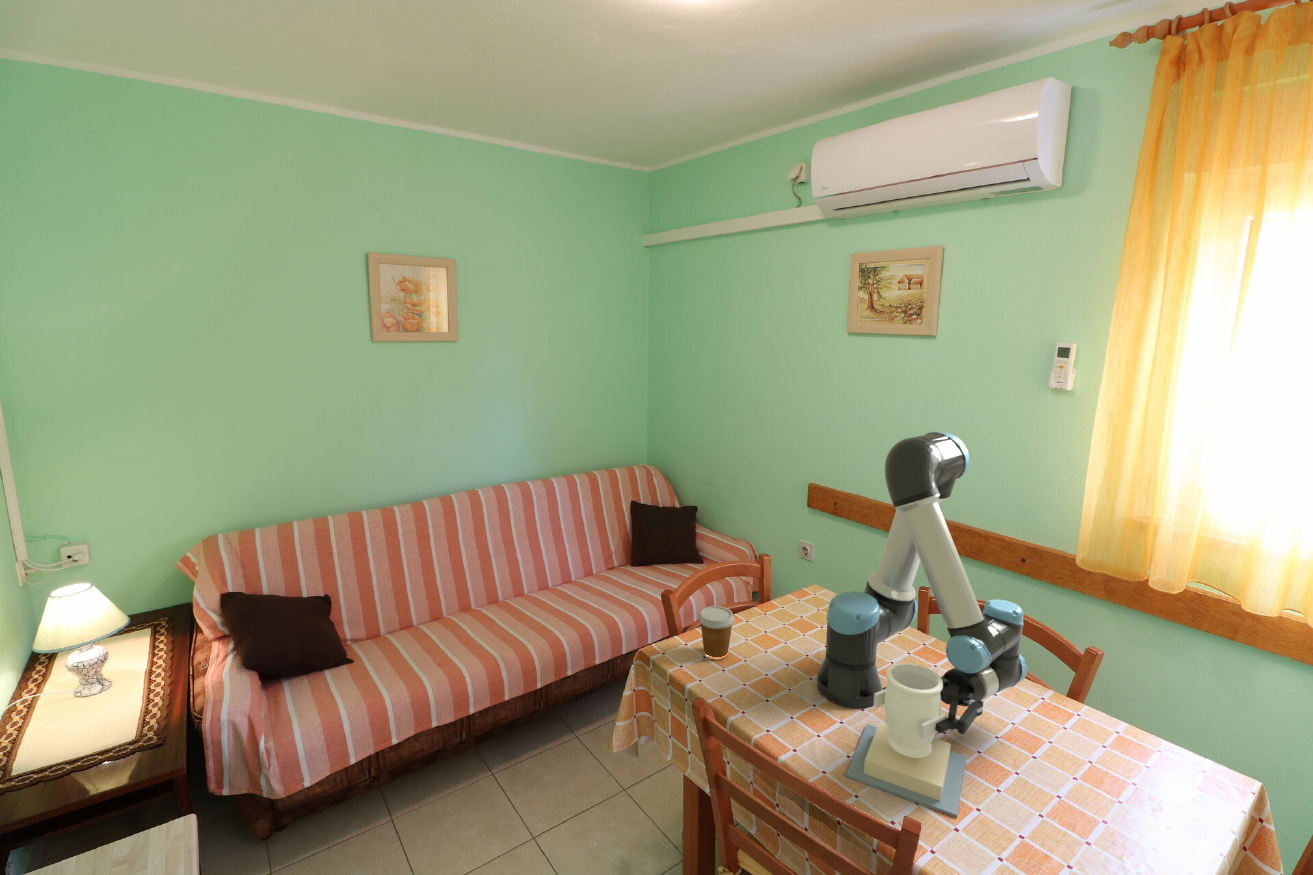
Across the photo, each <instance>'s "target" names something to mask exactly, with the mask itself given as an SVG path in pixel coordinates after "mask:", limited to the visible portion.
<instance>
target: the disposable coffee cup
mask: <svg viewBox="0 0 1313 875" xmlns="http://www.w3.org/2000/svg"><path fill="white" fill-rule="evenodd" d="M698 620H699V622H700V629H701V637H702V646H703V647H702V648H703V653H704V652H705V654H707V655H709V656H712V657H722V656H725V655H726V654H727V653H728V654H729V649H730V641H731V634H732V628H733V624H734V622H735V617H734V614H733V612H732V610H731V609H730V608H729V609H728V608H727V607H724V606H718V605H717V606H707V607H705V608H703V609H701V611H700V613H699V616H698Z"/></svg>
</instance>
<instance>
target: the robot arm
mask: <svg viewBox="0 0 1313 875" xmlns="http://www.w3.org/2000/svg"><path fill="white" fill-rule="evenodd" d="M884 462H885V463H884V477H885V484H886V487H887V491H888V495H889V497H890V500H891V503H892V505H893V509H895V510H896V511H895V513H894V517H893V520H892V522H891V525H890V528H889V533H888V537H887V540H886V542H885V546H884V549H883V550H882V551H883V553H882V555H881V558H880V561H879V565H878V568H877V571H876V572H874V573H871V574H870V575H869V576H868V578H867V580H866V585H865V587H864V590H863V591H851V592H848V591H843V592H840V593H839V594H836V595H835V596H834V597H832V598H831V599H830V601H829V604H828V609H827V612H826V620H827V623H826V624H827V625H826V641H825V657H824V659H823V662H822V664H821V666H820V668H819V670H818V672H817V676H816V689H817V691H818V692H819V691H820V692H819V693H820V695H821V696H822V697H824V698H825V697H826V698H827V699H826V698H825V699H826V700H828V699H829V700H828V701H830V702H831V701H833V702H834V704H836V705H838V706H842V707H845V708H846V707H847V708H853V709H864V708H869V707H872V706H874V707H875V708H878V707H881V706H883V705H885V692H886V687H887V685H886V686H884V687H882V683H881V678H880V675H879V672H878V668H877V665H876V662H877V660H876V659H877V650H878V649H877V647H878V644H879V643H882V642H884V641H885V640H887V639H889V638H891V637H892V636H894V635H895V634H898V633H899V632H902V631H904V630H906V629H907V628H908V626H910V625H911V624H912V623H913V622H914V620H915V619H916V617H917V615H918V602H917V600H916V596H917V590H916V589H915V587H914V586H913V584H914V580H915V578H916V575H917V572H918V569H919V566H920V565H921V566H922V569H923V572H924V574H925V577H926V579H927V581H928V584H929V586H930V588H931V592H932V594H933V596H934V598H935V601H936V604H937V606H938V609H939V612H940V614H941V617H942V619H943V622H944V625H945V628H946V629H947V632H948V635H949V640H948V641H947V642H946V645H945V655H946V658H947V660H948V661H949V663H950V665H952V666H953V668H951V669H949V670H947V671H946V672H945V673H944V674H943V675H942V676H940V677H941V679H942V681H943V689H942V691H941V692H940V695H941V702H943V703H944V704H946V705H949V708H948V709H949V710H948V714H945V713H941V715H938V716H936V717H935V718H932V719H930V720H928V721H926V722H924V723H921V727H920V737H921V738H922V739H924V738H926V737H928V736H930V735H932V734H934V733H936V734H937V733H939V734H944V733H946V732H947V731H949V730H951V731H952V730H957V732H958V734H961V735H965V734H966V733H967V731H968V730H969V728H970V726H971V725H972V723H973V722H974V720H976V718H977V717H980V716H981V715H983V711H984V701H982V700H985V699H987V698H990V697H991V696H994V695H996V694H997V693H998V694H999V692H1002V691H1005V690H1006V689H1010V688H1013V687H1014V686H1016V685H1017V684H1019V683H1020V682H1022V681H1024V679H1025V678H1026V676H1027V674H1028V666H1027V664H1026V660H1025V658H1024V656H1022V654H1020V650H1021V649H1020V648H1021V642H1022V636H1023V627H1024V611H1023V609H1022V608H1021V607H1020V606H1019V605H1018V604H1016V603H1014V602H1012V601H1009V600H1005V599H999V598H998V599H997V598H996V599H990V600H987V601H986V602H985V603H984V607H983V610H981V608H980V605H979V602H978V601H977V597H976V595H975V593H974V590H973V587H972V585H971V583H970V580H969V578H968V575H967V573H966V570H965V567H964V565H963V562H962V560H961V557H960V555H959V553H958V550H957V547H956V545H955V543H954V540H953V538H952V535H951V532H950V530H949V527H948V524H947V521H946V520H945V517H944V514H943V512H942V510H941V508H940V504H941V502H944V501H946V500H948V499H950V497H951V496H952V492H953V489H954V486H955V484H956V481H957V479H960V478H961V477H963V475H964V474H965V473H966V472H967V471H968V468H969V465H970V453H969V451H968V448H967V447H966V445H965V443H964V442H963V441H962V440H961V439H960V437H958V436H956V435H954V434H953V433H951V432H950V433H949V432H946V431H931V432H928V433H925V434H923V435H917V436H913V437H908V438H904V439H902V440H900V441H898V442H897V443H895V444H894V445H893V446H892V447H891V449H890V450H888V453H887V455H886V459H885V461H884ZM833 702H832V703H833ZM958 706H962V707H967V708H966V709H965V711H964V712H962V715H961V716H960V717H959V718H956V717H957V712H958Z"/></svg>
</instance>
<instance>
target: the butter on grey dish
mask: <svg viewBox="0 0 1313 875" xmlns="http://www.w3.org/2000/svg"><path fill="white" fill-rule="evenodd" d="M864 727H865V728H864V730H863V732H862V735H861V737H860V740H859V742H858V745H857V747H856V748H855V751H854V754H853V756H852V758H851V761H850V763H849V766H848V768H847V771H846V774H845V778H848V779H852V780H854V781H857V782H859V783H861V784H865V785H867V786H870V787H872V788H875V789H879V790H881V791H883V792H886V793H889V794H892V795H895V796H896V797H900V798H902V799H906V800H908V801H910V802H913V803H916V804H919V805H921V806H924V807H927V808H930V809H931V810H932V809H933V810H934V811H937V812H941V813H943V814H946V815H949V816H951V817H954V818H958V813H959V806H960V801H961V800H960V799H961V794H962V787H963V783H964V782H963V780H964V776H965V775H964V774H965V769H966V768H965V767H966V761H967V755H964V754H961V753H959V752H956V751H952V750H951V743H950V742H946V741H944V740H940V739H937V738H934V739H933V740H932V742H931V745H932V751H931V753H930V754H929V755H928V756H926V757H923V758H911V757H907V756H904V755H902V754H900V753H898V752H896V751H895V750H894V749H893V748H892V747H891V746H890V745H889V743H888V740H887V737H888V734H889V730H888V727H887V723H886V722H884V721H881V720H880V721H879V723H878V725H877V726H876V725H875V726H874V725H871V724H869V723H866V725H865V726H864Z"/></svg>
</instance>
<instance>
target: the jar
mask: <svg viewBox="0 0 1313 875" xmlns="http://www.w3.org/2000/svg"><path fill="white" fill-rule="evenodd" d="M885 676H886V680H887V684H886V686H887V687H886V686H885V687H886V692H885V704H884V712H885V723H887V727H888V730H889V734H888V737H887V740H888V743H889V745H890V746H891V747H892V748H893V749H894V750H895V751H896V752H898V753H900V754H902V755H904V756H907V757H911V758H923V757H926V756H928V755H929V754H930V753H931V751H932V745H931V742H932V740H933V739H935V737H936V734H937V732H936V733H934V734H932V735H930V736H928V737H926V738H924V739H922V738H921V737H920V727H921V723H924V722H926V721H928V720H930V719H932V718H935V717H936V716H938V715H941V714H942V700H941V695H940V692H941V691H942V689H943V681H942V679H941V677H942V676H940V675H939V674H938V673H937V672H935V671H934V670H932V669H930V668H928V667H926V666H923V665H920V664H916V663H910V662H909V663H908V662H902V663H900V662H899V663H896V664H893V665H891V666H889V667H888V668H887V670H886V675H885Z"/></svg>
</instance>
